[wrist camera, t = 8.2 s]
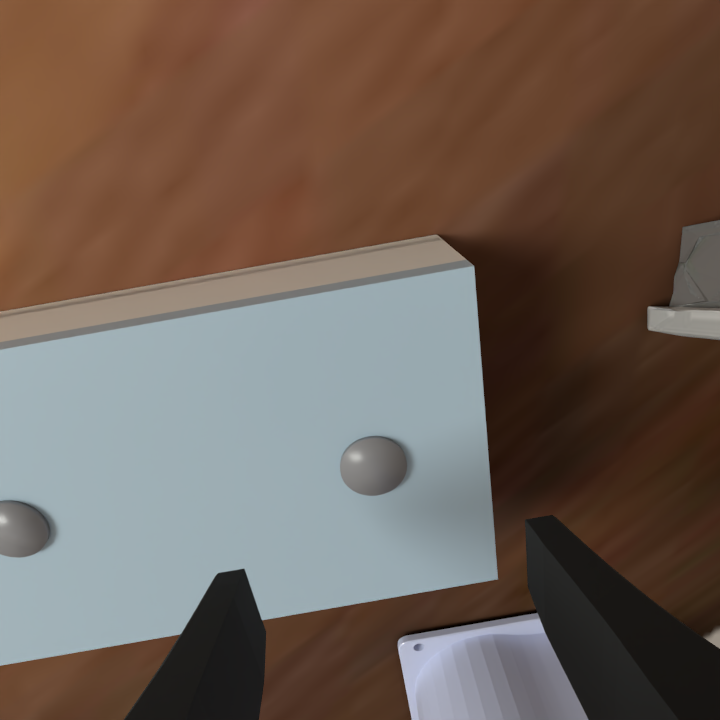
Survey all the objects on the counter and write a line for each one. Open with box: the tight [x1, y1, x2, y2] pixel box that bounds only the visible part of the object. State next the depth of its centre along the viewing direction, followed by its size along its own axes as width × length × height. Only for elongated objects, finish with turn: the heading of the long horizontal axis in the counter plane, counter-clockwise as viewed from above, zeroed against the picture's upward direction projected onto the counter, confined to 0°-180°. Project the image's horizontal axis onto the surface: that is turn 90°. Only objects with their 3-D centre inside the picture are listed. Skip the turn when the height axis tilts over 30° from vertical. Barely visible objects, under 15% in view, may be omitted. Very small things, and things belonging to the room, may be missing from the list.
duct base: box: [0, 235, 466, 342], centre depth 18 cm, size 18×11×4 cm, turn 99°
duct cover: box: [0, 260, 498, 666], centre depth 16 cm, size 18×11×1 cm, turn 99°
